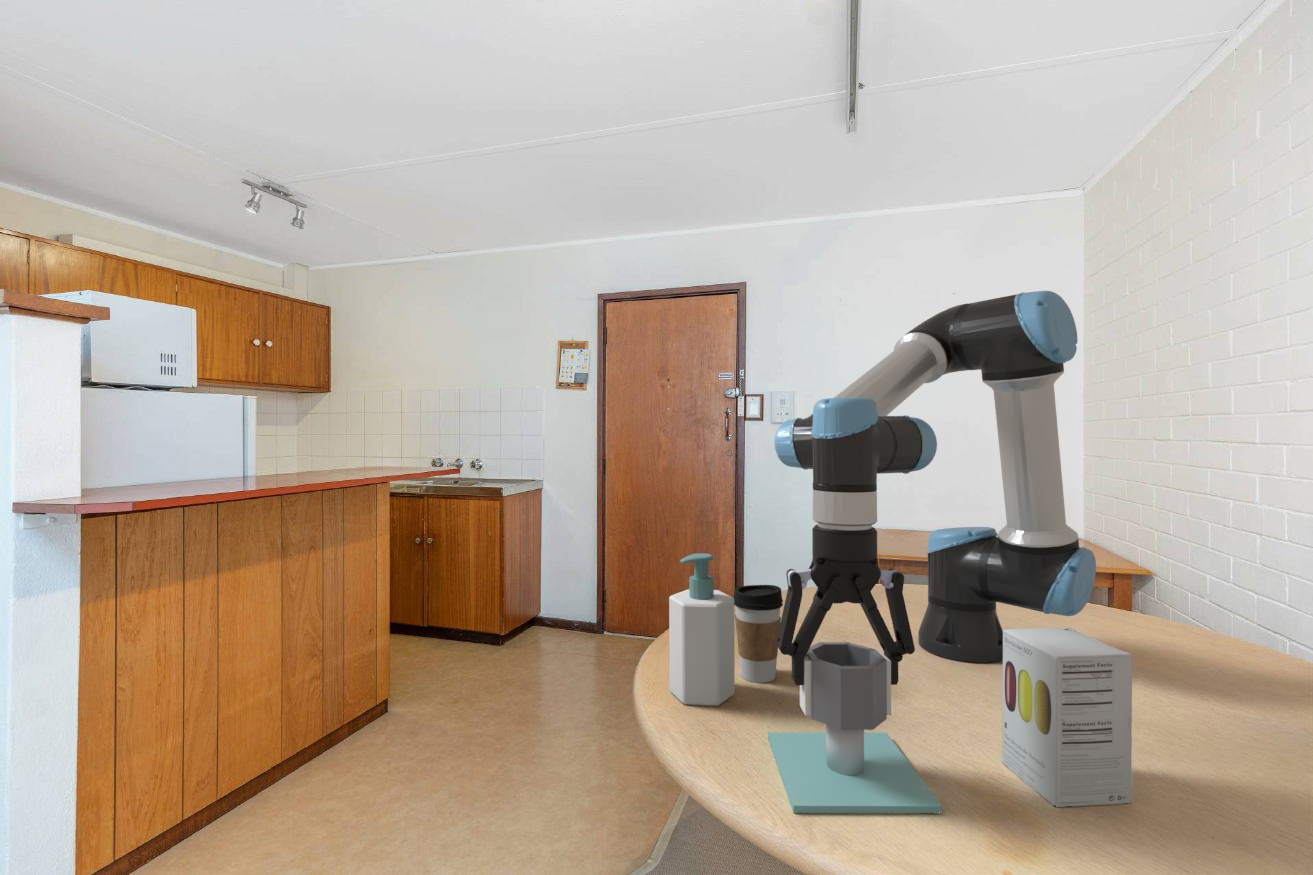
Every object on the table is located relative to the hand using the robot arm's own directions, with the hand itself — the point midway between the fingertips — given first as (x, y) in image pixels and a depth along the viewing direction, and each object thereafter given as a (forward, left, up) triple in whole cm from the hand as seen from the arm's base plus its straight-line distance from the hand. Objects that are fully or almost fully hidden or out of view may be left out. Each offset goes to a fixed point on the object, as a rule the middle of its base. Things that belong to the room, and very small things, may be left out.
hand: (844, 710), depth 72 cm
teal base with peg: (0, 0, -8) cm, 8 cm away
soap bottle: (+16, -22, -8) cm, 28 cm away
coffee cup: (+6, -29, -8) cm, 31 cm away
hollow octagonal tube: (0, 0, 0) cm, 0 cm away
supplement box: (-25, +2, -8) cm, 26 cm away
